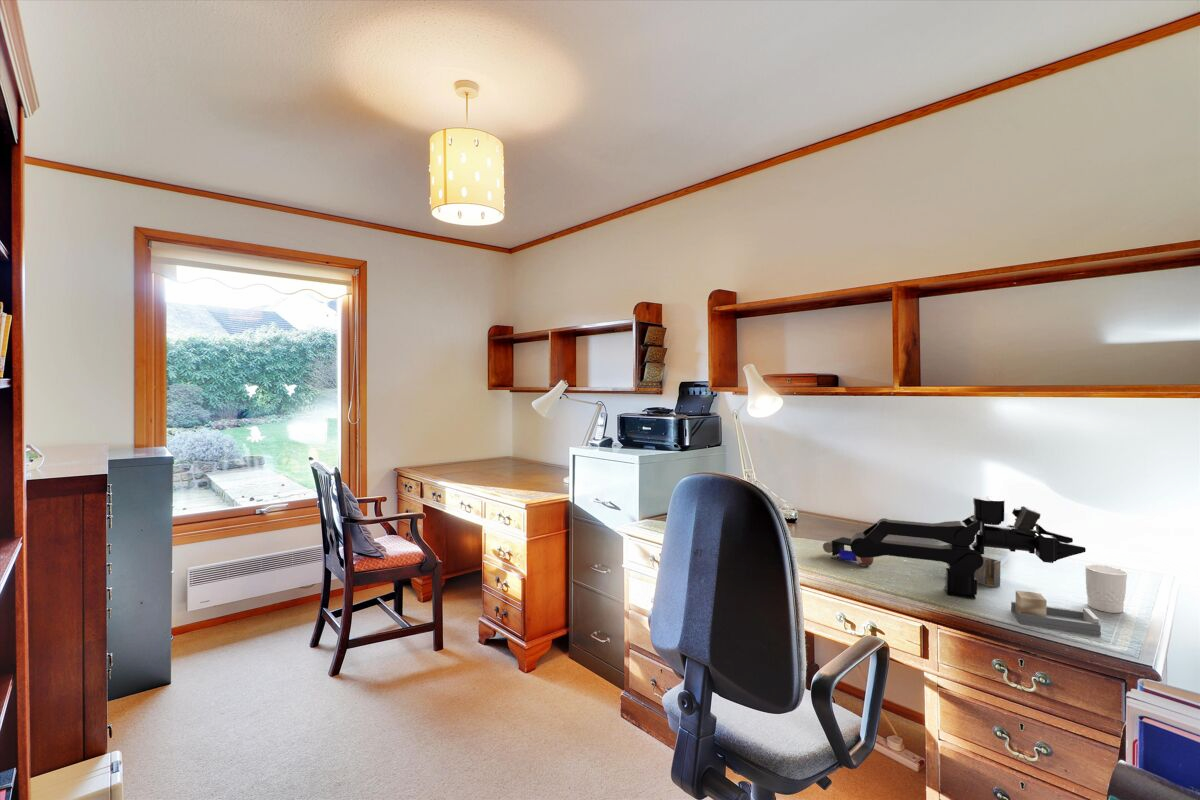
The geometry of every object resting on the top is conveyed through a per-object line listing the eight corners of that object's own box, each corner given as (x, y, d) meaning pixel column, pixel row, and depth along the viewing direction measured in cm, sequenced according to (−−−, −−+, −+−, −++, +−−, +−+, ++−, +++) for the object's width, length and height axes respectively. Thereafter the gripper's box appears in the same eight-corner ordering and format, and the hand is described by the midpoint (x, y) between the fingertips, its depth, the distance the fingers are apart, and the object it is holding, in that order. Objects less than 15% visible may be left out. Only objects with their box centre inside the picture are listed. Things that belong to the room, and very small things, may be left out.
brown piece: (953, 577, 166) (953, 544, 166) (959, 575, 168) (959, 543, 167) (993, 589, 156) (994, 555, 156) (1000, 587, 158) (1000, 553, 157)
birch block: (1020, 617, 134) (1020, 597, 134) (1015, 610, 139) (1015, 590, 139) (1046, 621, 132) (1046, 600, 132) (1040, 613, 137) (1040, 593, 137)
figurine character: (822, 562, 184) (867, 569, 172) (820, 539, 184) (864, 544, 172) (834, 558, 188) (878, 565, 176) (832, 535, 188) (876, 540, 176)
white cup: (1105, 601, 146) (1106, 564, 146) (1135, 614, 138) (1136, 574, 138) (1076, 602, 146) (1077, 564, 145) (1104, 614, 138) (1105, 574, 138)
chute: (1020, 623, 133) (1020, 610, 133) (1010, 610, 141) (1011, 597, 141) (1100, 635, 126) (1101, 621, 126) (1086, 620, 134) (1086, 606, 134)
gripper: (1013, 515, 139) (1093, 521, 132) (996, 500, 156) (1067, 505, 149) (1012, 559, 139) (1092, 567, 132) (996, 540, 156) (1066, 547, 149)
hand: (1078, 544), depth 141 cm, fingers open, 9 cm apart
